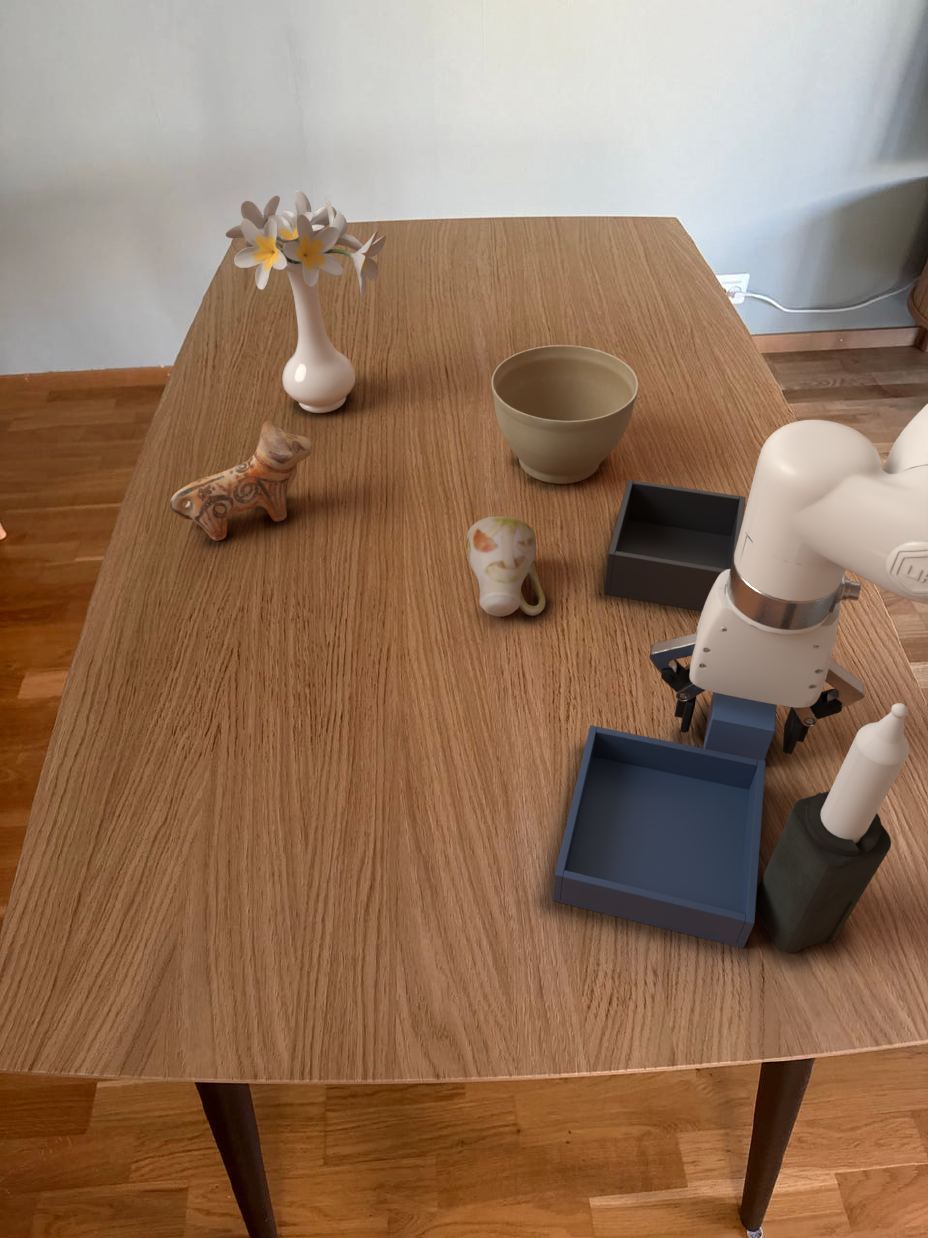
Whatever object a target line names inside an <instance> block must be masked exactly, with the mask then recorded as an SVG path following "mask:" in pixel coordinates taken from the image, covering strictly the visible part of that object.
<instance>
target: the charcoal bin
mask: <svg viewBox="0 0 928 1238" xmlns="http://www.w3.org/2000/svg"><path fill="white" fill-rule="evenodd" d="M746 499H747V497H746V496H743V495H736V494H728V493H721V492H714V491H708V490H703V489H695V488H688V487H682V486H674V485H670V484H669V485H668V484H663V483H662V484H661V483H654V482H649V481H640V480H633V479H627V481H626V484H625V489H624V492H623V496H622V499H621V500H622V501H621V503H620V507H619V512H618V516H617V519H616V523H615V527H614V530H613V535H612V538H611V542H610V546H609V550H608V554H607V561H606V562H607V563H606V570H605V579H604V588H603V595H607V596H613V597H618V598H624V599H629V600H636V601H641V602H647V603H653V604H659V605H664V606H670V607H675V608H681V609H685V610H686V609H687V610H693V611H699V612H702V611H703V608H704V605H705V603H706V600H707V598H708V595H709V593H710V591H711V589H712V587H713V585H714V583H715V581H716V580H717V578H718V576H719V575H720V574H721V573H722V572H723V571H725V570H727V569H731V565H732V561H733V557H734V554H735V550H736V546H737V542H738V538H739V534H740V530H741V527H742V523H743V518H744V514H745V510H746V501H747V500H746Z"/></svg>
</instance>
